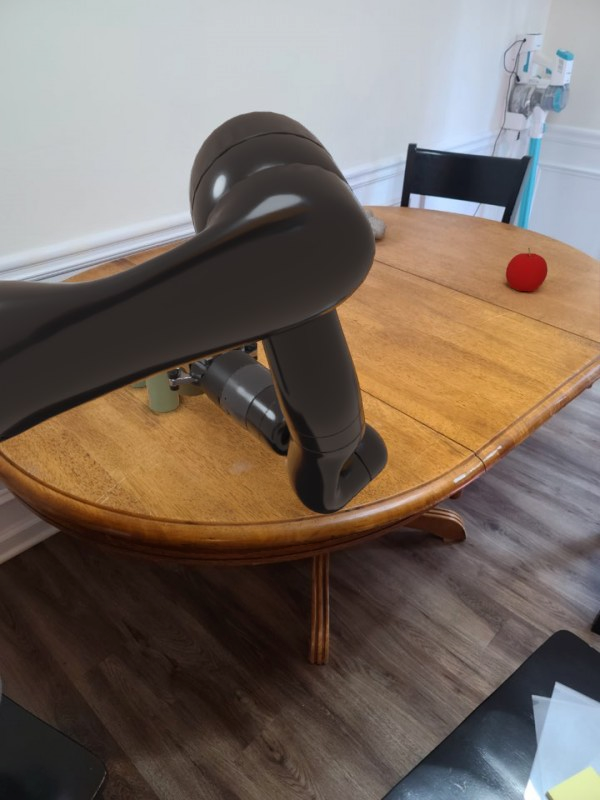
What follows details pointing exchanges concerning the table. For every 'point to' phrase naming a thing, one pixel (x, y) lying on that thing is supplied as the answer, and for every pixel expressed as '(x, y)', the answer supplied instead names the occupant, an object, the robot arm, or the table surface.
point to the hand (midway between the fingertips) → (180, 336)
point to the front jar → (161, 394)
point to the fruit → (526, 271)
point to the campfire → (376, 224)
